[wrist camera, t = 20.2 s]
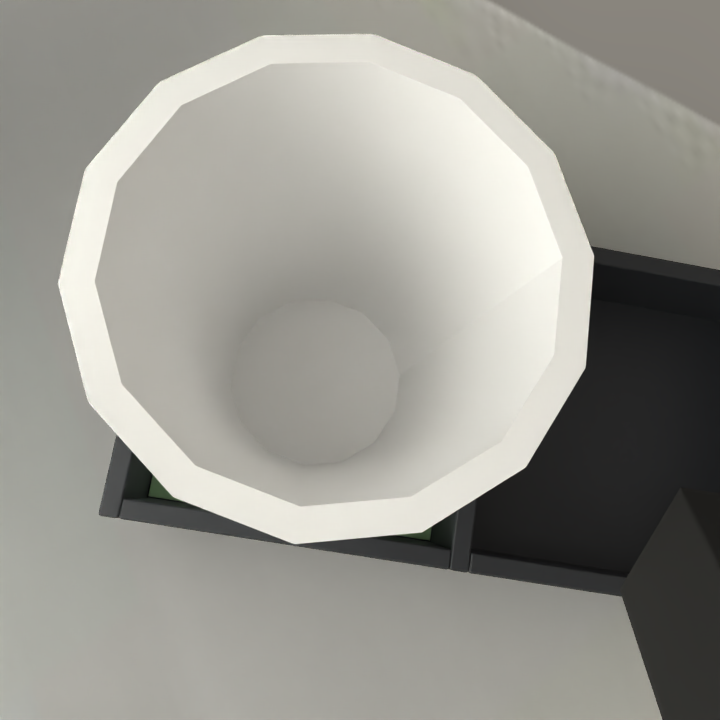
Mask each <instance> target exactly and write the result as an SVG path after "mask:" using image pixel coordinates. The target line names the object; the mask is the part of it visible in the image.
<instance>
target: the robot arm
mask: <svg viewBox="0 0 720 720" xmlns="http://www.w3.org/2000/svg"><path fill="white" fill-rule="evenodd" d="M620 592H621V595H622V598H623V601H624V604H625V607H626V610H627V613H628V616H629V619H630V622H631V625H632V628H633V631H634V634H635V637H636V640H637V643H638V646H639V649H640V652H641V655H642V658H643V661H644V665H645V668H646V671H647V674H648V677H649V680H650V683H651V686H652V689H653V692H654V695H655V698H656V701H657V704H658V707H659V710H660V713H661V716H662V719H663V720H720V493H714V492H708V491H702V490H696V489H690V488H683V487H680V489H679V490H678V492H677V494H676V495H675V497H674V499H673V501H672V502H671V504H670V506H669V507H668V509H667V511H666V512H665V514H664V516H663V517H662V519H661V521H660V522H659V524H658V526H657V527H656V529H655V531H654V532H653V534H652V536H651V537H650V539H649V541H648V542H647V544H646V546H645V547H644V549H643V551H642V553H641V554H640V556H639V558H638V559H637V561H636V563H635V564H634V566H633V568H632V569H631V571H630V573H629V574H628V576H627V578H626V579H625V581H624V583H623V584H622V586H621V588H620Z"/></svg>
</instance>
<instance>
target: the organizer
mask: <svg viewBox="0 0 720 720" xmlns="http://www.w3.org/2000/svg"><path fill="white" fill-rule="evenodd" d="M591 249H592V252H593V254H594V265H593V278H592V291H591V304H590V317H589V331H588V344H587V357H586V368H585V370H584V371H583V373H582V375H581V376H580V378H579V380H578V381H577V383H576V385H575V386H574V388H573V390H572V391H571V393H570V395H569V396H568V398H567V400H566V401H565V403H564V405H563V406H562V408H561V410H560V411H559V413H558V415H557V416H556V418H555V420H554V421H553V423H552V425H551V426H550V428H549V430H548V431H547V433H546V435H545V436H544V438H543V440H542V441H541V443H540V445H539V446H538V448H537V450H536V451H535V453H534V455H533V456H532V458H531V460H530V461H529V463H528V465H527V466H526V468H524V469H522V470H521V471H519V472H518V473H516V474H514V475H513V476H511V477H510V478H508V479H506V480H505V481H503V482H502V483H500V484H498V485H497V486H495V487H494V488H492V489H490V490H489V491H487V492H486V493H484V494H482V495H481V496H479V497H478V498H476V499H474V500H473V501H471V502H470V503H468V504H466V505H465V506H463V507H462V508H460V509H459V510H457V511H455V512H454V513H452V514H451V515H449V516H447V517H446V518H444V519H443V520H441V521H439V522H438V523H436V524H435V525H433V526H431V527H430V528H428V529H427V530H425V531H423V532H421V533H410V534H399V535H388V536H378V537H367V538H356V539H345V540H335V541H324V542H313V543H302V544H292V543H290V542H287V541H285V540H282V539H280V538H277V537H274V536H272V535H269V534H267V533H264V532H262V531H259V530H256V529H254V528H251V527H249V526H246V525H244V524H241V523H238V522H236V521H233V520H231V519H228V518H226V517H223V516H220V515H218V514H215V513H213V512H210V511H208V510H205V509H202V508H200V507H197V506H195V505H192V504H190V503H187V502H184V501H182V500H179V499H177V498H174V497H172V495H171V494H170V493H169V492H168V491H167V490H166V489H165V488H164V486H163V485H162V484H161V483H160V482H159V481H158V480H157V479H156V478H155V476H154V475H153V474H152V473H151V472H150V471H149V470H148V469H147V468H146V466H145V465H144V464H143V463H142V462H141V461H140V460H139V459H138V457H137V456H136V455H135V454H134V453H133V452H132V451H131V450H130V449H129V447H128V446H127V445H126V444H125V443H124V442H123V441H122V440H121V438H120V437H119V436H118V435H116V440H115V444H114V448H113V453H112V457H111V462H110V466H109V470H108V475H107V479H106V483H105V488H104V492H103V497H102V501H101V505H100V510H99V515H100V516H106V517H112V518H121V519H125V520H132V521H138V522H145V523H151V524H157V525H164V526H170V527H177V528H183V529H190V530H196V531H203V532H209V533H215V534H222V535H228V536H235V537H241V538H248V539H254V540H261V541H267V542H274V543H280V544H286V545H293V546H299V547H306V548H312V549H319V550H325V551H332V552H338V553H344V554H351V555H357V556H364V557H370V558H377V559H383V560H390V561H396V562H402V563H409V564H415V565H422V566H428V567H435V568H441V569H450V570H454V571H460V572H469V573H473V574H480V575H486V576H493V577H499V578H506V579H512V580H518V581H525V582H531V583H538V584H544V585H551V586H557V587H564V588H570V589H576V590H583V591H589V592H596V593H602V594H609V595H615V596H622V595H621V592H620V588H621V586H622V584H623V583H624V581H625V579H626V578H627V576H628V574H629V573H630V571H631V569H632V568H633V566H634V564H635V563H636V561H637V559H638V558H639V556H640V554H641V553H642V551H643V549H644V547H645V546H646V544H647V542H648V541H649V539H650V537H651V536H652V534H653V532H654V531H655V529H656V527H657V526H658V524H659V522H660V521H661V519H662V517H663V516H664V514H665V512H666V511H667V509H668V507H669V506H670V504H671V502H672V501H673V499H674V497H675V495H676V494H677V492H678V490H679V489H680V487H683V488H690V489H696V490H702V491H708V492H714V493H720V270H716V269H711V268H706V267H700V266H695V265H690V264H684V263H679V262H673V261H668V260H663V259H657V258H652V257H646V256H641V255H636V254H630V253H625V252H620V251H614V250H609V249H603V248H598V247H593V246H591Z"/></svg>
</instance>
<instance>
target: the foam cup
mask: <svg viewBox="0 0 720 720" xmlns="http://www.w3.org/2000/svg"><path fill="white" fill-rule="evenodd" d="M593 265H594V254H593V252H592V249H591V246H590V244H589V241H588V239H587V236H586V233H585V231H584V228H583V226H582V223H581V220H580V218H579V215H578V213H577V210H576V207H575V205H574V202H573V200H572V197H571V195H570V192H569V189H568V187H567V184H566V182H565V179H564V176H563V174H562V171H561V169H560V166H559V163H558V161H557V158H556V156H555V153H554V152H553V151H552V150H551V149H550V148H549V147H548V146H547V145H546V144H545V143H544V142H543V141H542V140H541V139H540V138H539V137H538V136H537V135H536V134H535V133H534V132H533V131H532V130H531V129H530V128H529V127H528V126H527V125H526V124H525V123H524V122H523V121H522V120H521V119H520V118H519V117H518V116H517V115H516V114H515V113H514V112H513V111H512V110H511V109H510V108H509V107H508V106H507V105H506V104H505V103H504V102H503V101H502V100H501V99H500V98H499V97H498V96H497V95H496V94H495V93H494V92H493V91H492V90H491V89H490V88H489V87H488V86H487V85H486V84H485V83H484V82H483V81H482V80H481V79H480V78H479V77H478V76H477V75H475V74H472V73H470V72H467V71H465V70H462V69H460V68H457V67H455V66H452V65H450V64H447V63H445V62H442V61H440V60H437V59H435V58H432V57H430V56H427V55H425V54H422V53H420V52H418V51H415V50H413V49H410V48H408V47H405V46H403V45H400V44H398V43H395V42H393V41H390V40H388V39H385V38H383V37H380V36H378V35H375V34H323V35H261V36H259V37H257V38H255V39H253V40H250V41H248V42H246V43H244V44H242V45H239V46H237V47H235V48H233V49H231V50H228V51H226V52H224V53H222V54H220V55H217V56H215V57H213V58H211V59H209V60H206V61H204V62H202V63H200V64H198V65H195V66H193V67H191V68H189V69H187V70H184V71H182V72H180V73H178V74H176V75H173V76H171V77H169V78H167V79H165V80H162V81H160V82H159V83H158V84H157V85H156V86H155V87H154V89H153V90H152V91H151V92H150V93H149V94H148V96H147V97H146V98H145V99H144V100H143V102H142V103H141V104H140V105H139V106H138V107H137V109H136V110H135V111H134V112H133V113H132V114H131V116H130V117H129V118H128V119H127V120H126V122H125V123H124V124H123V125H122V126H121V127H120V129H119V130H118V131H117V132H116V133H115V134H114V136H113V137H112V138H111V139H110V140H109V142H108V143H107V144H106V145H105V146H104V147H103V149H102V150H101V151H100V152H99V153H98V154H97V156H96V157H95V158H94V159H93V160H92V162H91V163H90V164H89V165H88V166H87V167H86V169H85V171H84V176H83V180H82V184H81V188H80V192H79V196H78V201H77V205H76V209H75V213H74V217H73V221H72V226H71V230H70V234H69V238H68V242H67V246H66V250H65V255H64V259H63V263H62V267H61V271H60V275H59V280H58V287H59V291H60V295H61V298H62V302H63V306H64V310H65V314H66V318H67V322H68V326H69V330H70V334H71V338H72V342H73V346H74V350H75V354H76V358H77V361H78V365H79V369H80V373H81V377H82V381H83V385H84V389H85V393H86V397H87V401H88V403H89V404H90V405H91V406H92V407H93V408H94V409H95V411H96V412H97V413H98V414H99V415H100V416H101V417H102V418H103V419H104V421H105V422H106V423H107V424H108V425H109V426H110V427H111V428H112V430H113V431H114V432H115V433H116V434H117V435H118V436H119V437H120V438H121V440H122V441H123V442H124V443H125V444H126V445H127V446H128V447H129V449H130V450H131V451H132V452H133V453H134V454H135V455H136V456H137V457H138V459H139V460H140V461H141V462H142V463H143V464H144V465H145V466H146V468H147V469H148V470H149V471H150V472H151V473H152V474H153V475H154V476H155V478H156V479H157V480H158V481H159V482H160V483H161V484H162V485H163V486H164V488H165V489H166V490H167V491H168V492H169V493H170V494H171V495H172V497H174V498H177V499H179V500H182V501H184V502H187V503H190V504H192V505H195V506H197V507H200V508H202V509H205V510H208V511H210V512H213V513H215V514H218V515H220V516H223V517H226V518H228V519H231V520H233V521H236V522H238V523H241V524H244V525H246V526H249V527H251V528H254V529H256V530H259V531H262V532H264V533H267V534H269V535H272V536H274V537H277V538H280V539H282V540H285V541H287V542H290V543H292V544H302V543H313V542H324V541H335V540H345V539H356V538H367V537H378V536H388V535H399V534H410V533H421V532H423V531H425V530H427V529H428V528H430V527H431V526H433V525H435V524H436V523H438V522H439V521H441V520H443V519H444V518H446V517H447V516H449V515H451V514H452V513H454V512H455V511H457V510H459V509H460V508H462V507H463V506H465V505H466V504H468V503H470V502H471V501H473V500H474V499H476V498H478V497H479V496H481V495H482V494H484V493H486V492H487V491H489V490H490V489H492V488H494V487H495V486H497V485H498V484H500V483H502V482H503V481H505V480H506V479H508V478H510V477H511V476H513V475H514V474H516V473H518V472H519V471H521V470H522V469H524V468H526V466H527V465H528V463H529V461H530V460H531V458H532V456H533V455H534V453H535V451H536V450H537V448H538V446H539V445H540V443H541V441H542V440H543V438H544V436H545V435H546V433H547V431H548V430H549V428H550V426H551V425H552V423H553V421H554V420H555V418H556V416H557V415H558V413H559V411H560V410H561V408H562V406H563V405H564V403H565V401H566V400H567V398H568V396H569V395H570V393H571V391H572V390H573V388H574V386H575V385H576V383H577V381H578V380H579V378H580V376H581V375H582V373H583V371H584V370H585V368H586V357H587V344H588V331H589V317H590V304H591V291H592V278H593Z"/></svg>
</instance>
